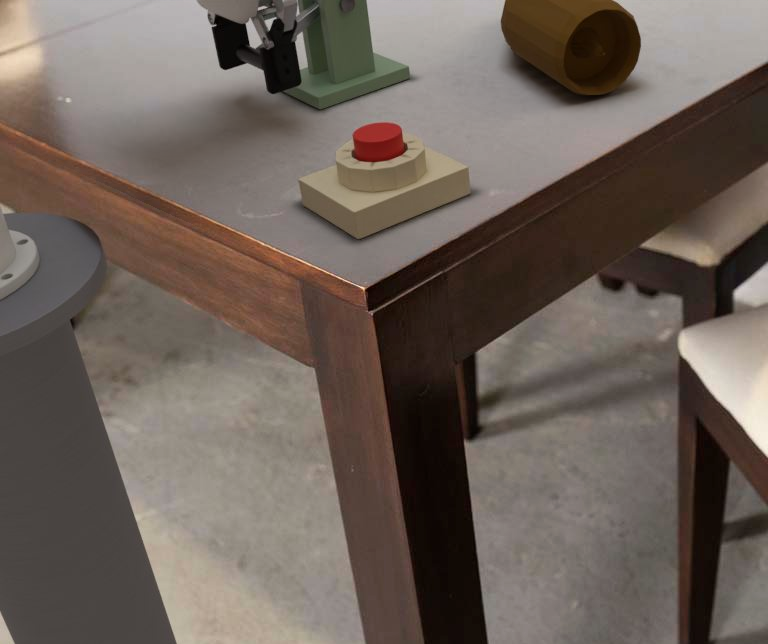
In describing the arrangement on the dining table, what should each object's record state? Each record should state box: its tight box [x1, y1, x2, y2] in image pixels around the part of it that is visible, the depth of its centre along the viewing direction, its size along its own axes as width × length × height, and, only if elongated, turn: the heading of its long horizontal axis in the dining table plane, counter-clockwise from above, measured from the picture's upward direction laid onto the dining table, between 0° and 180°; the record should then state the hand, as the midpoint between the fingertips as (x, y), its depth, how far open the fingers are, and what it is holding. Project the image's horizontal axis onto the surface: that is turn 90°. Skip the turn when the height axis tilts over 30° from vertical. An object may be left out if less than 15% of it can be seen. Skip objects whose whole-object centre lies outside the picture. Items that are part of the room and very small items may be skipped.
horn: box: [500, 0, 642, 96], centre depth 102 cm, size 8×10×25 cm
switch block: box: [298, 132, 471, 240], centre depth 82 cm, size 10×8×4 cm
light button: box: [352, 121, 404, 163], centre depth 81 cm, size 4×4×2 cm
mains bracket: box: [282, 0, 411, 110], centre depth 102 cm, size 10×8×10 cm
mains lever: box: [236, 0, 321, 71], centre depth 99 cm, size 11×5×2 cm, turn 124°
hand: (260, 76), depth 100 cm, fingers open, 8 cm apart
